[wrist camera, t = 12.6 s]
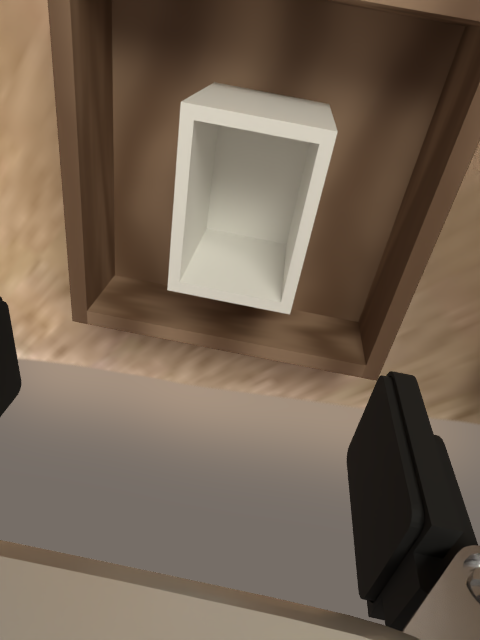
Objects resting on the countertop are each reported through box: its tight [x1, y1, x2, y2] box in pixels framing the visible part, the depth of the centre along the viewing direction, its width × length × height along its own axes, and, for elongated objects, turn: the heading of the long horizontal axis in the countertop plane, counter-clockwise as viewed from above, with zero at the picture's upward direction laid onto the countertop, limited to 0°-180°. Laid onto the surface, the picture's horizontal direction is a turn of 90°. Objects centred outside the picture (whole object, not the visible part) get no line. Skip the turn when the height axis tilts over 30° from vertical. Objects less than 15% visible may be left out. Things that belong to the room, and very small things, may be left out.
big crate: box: [48, 0, 480, 381], centre depth 26 cm, size 20×20×6 cm
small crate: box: [167, 82, 338, 314], centre depth 24 cm, size 6×9×8 cm
